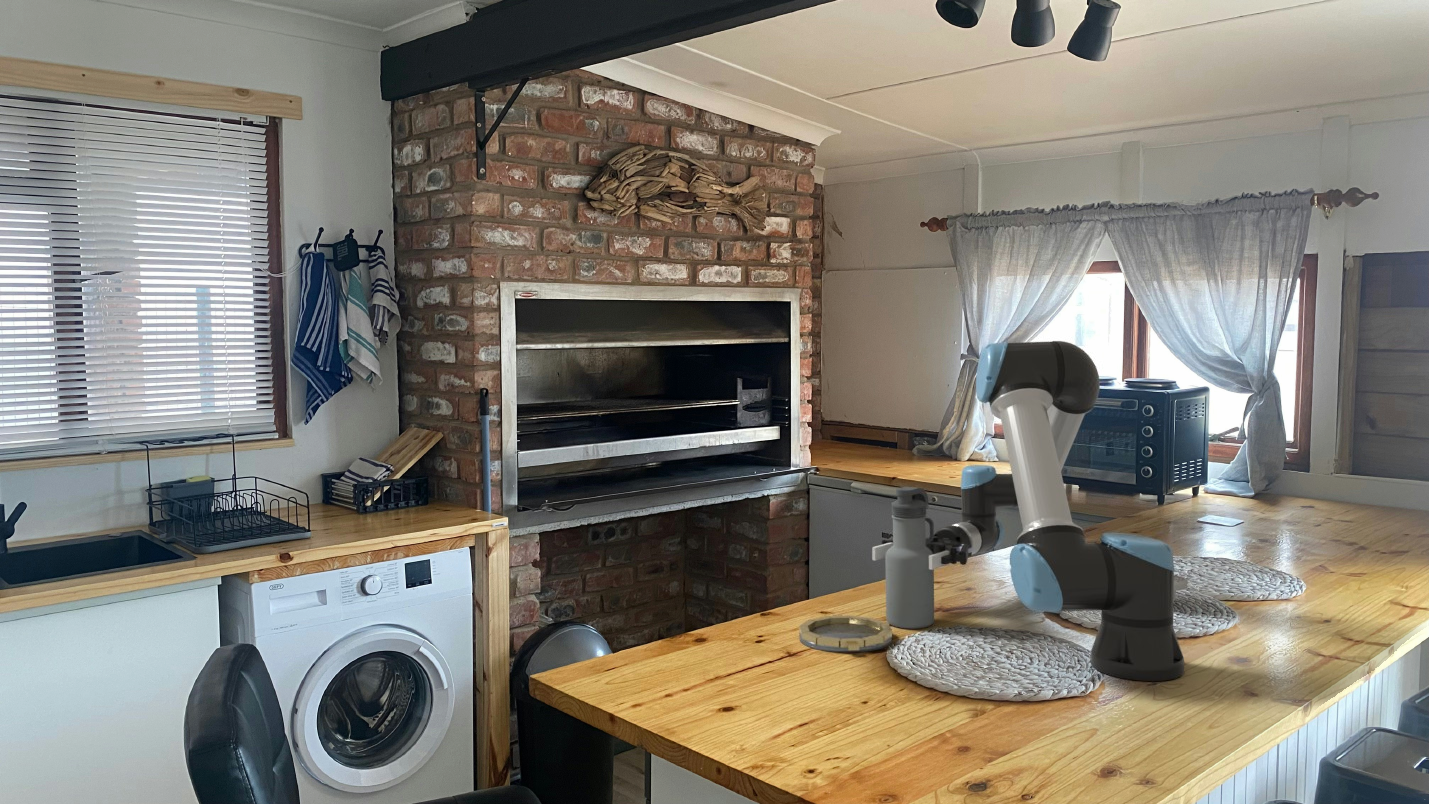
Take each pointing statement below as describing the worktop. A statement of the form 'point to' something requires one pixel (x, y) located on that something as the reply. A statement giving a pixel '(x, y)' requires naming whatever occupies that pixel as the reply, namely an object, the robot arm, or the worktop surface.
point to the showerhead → (1179, 584)
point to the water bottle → (910, 563)
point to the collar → (845, 634)
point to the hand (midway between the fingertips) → (901, 558)
